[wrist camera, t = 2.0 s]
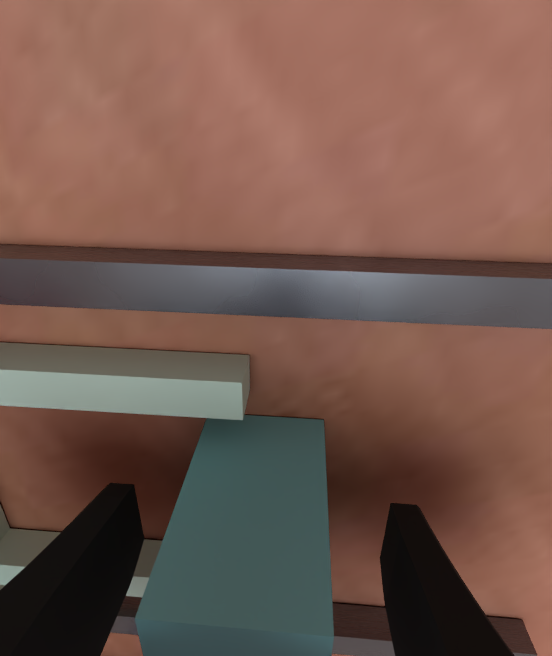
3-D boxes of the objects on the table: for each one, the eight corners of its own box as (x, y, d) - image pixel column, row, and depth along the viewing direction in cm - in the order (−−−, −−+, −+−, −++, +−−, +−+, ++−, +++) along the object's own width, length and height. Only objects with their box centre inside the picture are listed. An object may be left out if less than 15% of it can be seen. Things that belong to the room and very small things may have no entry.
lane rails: (513, 636, 14) (527, 672, 13) (-171, 575, 15) (-200, 602, 15) (689, 268, 8) (737, 285, 7) (-425, 229, 10) (-499, 239, 9)
